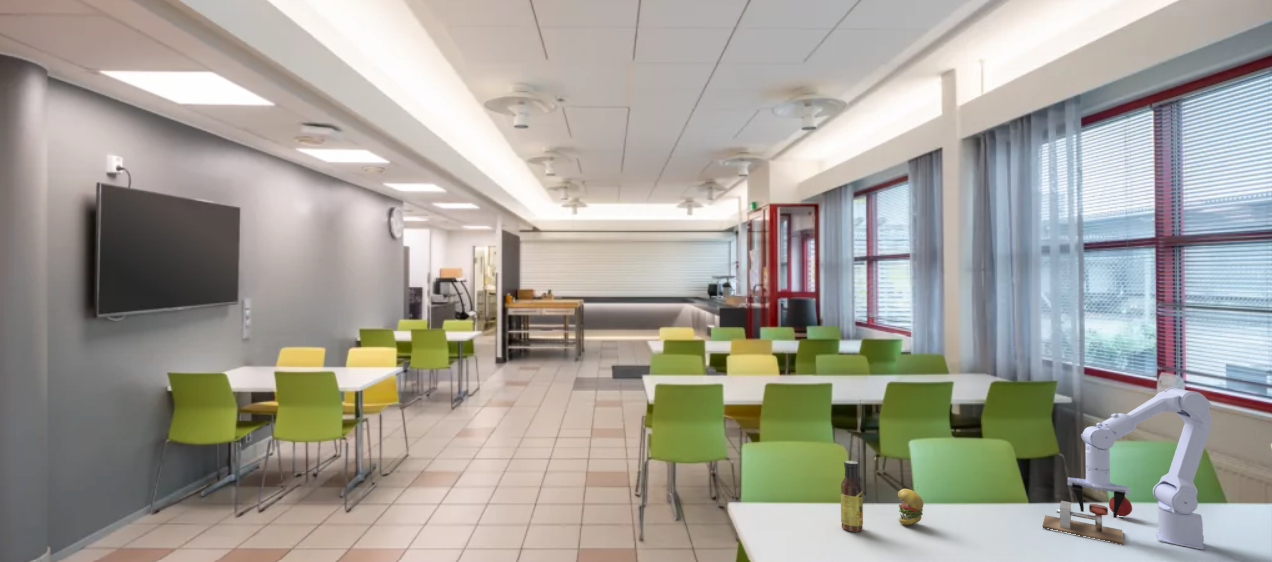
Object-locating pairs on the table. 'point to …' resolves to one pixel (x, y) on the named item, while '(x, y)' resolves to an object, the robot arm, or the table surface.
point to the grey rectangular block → (1065, 515)
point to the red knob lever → (1095, 509)
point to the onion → (1121, 507)
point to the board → (1085, 530)
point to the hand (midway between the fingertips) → (1098, 513)
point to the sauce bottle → (851, 499)
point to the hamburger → (910, 507)
